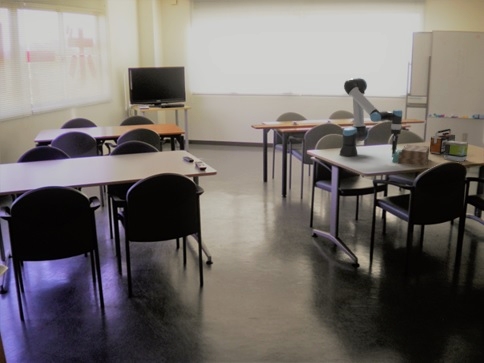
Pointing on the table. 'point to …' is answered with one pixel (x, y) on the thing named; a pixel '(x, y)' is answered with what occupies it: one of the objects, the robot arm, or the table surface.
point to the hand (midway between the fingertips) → (393, 157)
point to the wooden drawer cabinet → (414, 155)
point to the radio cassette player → (440, 141)
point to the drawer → (396, 156)
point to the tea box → (455, 150)
